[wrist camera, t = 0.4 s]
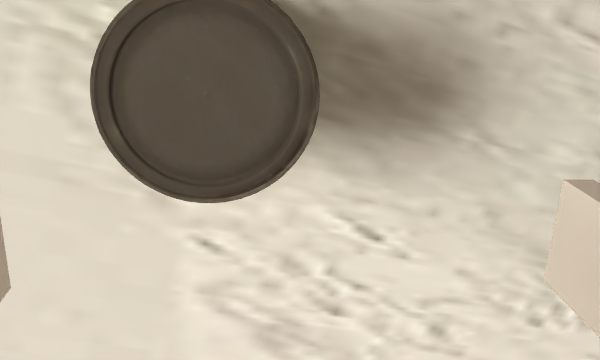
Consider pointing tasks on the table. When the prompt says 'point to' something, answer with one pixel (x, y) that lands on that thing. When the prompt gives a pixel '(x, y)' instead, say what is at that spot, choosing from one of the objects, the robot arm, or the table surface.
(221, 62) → the coffee can
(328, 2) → the table surface
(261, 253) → the table surface
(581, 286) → the robot arm
